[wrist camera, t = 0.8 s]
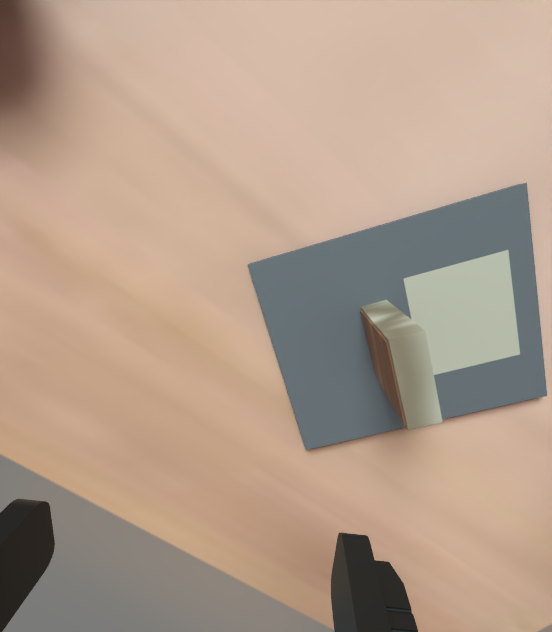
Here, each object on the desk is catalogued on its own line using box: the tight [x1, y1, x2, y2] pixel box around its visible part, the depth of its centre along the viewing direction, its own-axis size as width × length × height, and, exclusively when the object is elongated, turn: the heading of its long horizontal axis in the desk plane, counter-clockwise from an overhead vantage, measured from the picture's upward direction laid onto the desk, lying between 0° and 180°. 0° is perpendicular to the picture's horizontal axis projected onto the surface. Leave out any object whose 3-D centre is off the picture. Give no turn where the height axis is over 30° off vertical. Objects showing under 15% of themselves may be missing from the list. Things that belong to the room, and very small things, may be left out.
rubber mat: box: [248, 183, 547, 450], centre depth 32 cm, size 24×20×1 cm
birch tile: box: [360, 300, 443, 430], centre depth 27 cm, size 3×7×9 cm, turn 16°
